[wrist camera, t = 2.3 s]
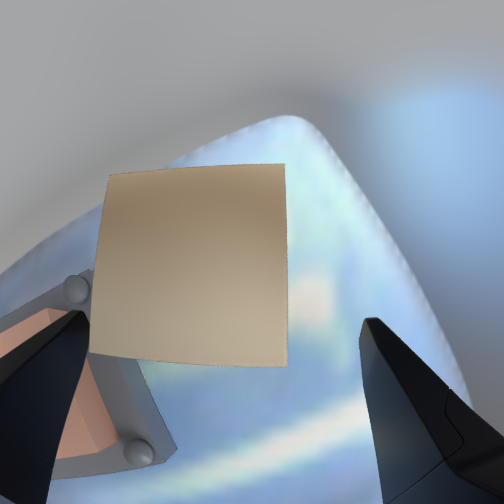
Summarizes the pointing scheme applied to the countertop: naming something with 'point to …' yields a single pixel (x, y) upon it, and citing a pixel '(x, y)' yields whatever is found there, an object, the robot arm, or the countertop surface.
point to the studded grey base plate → (95, 395)
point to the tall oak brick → (193, 267)
